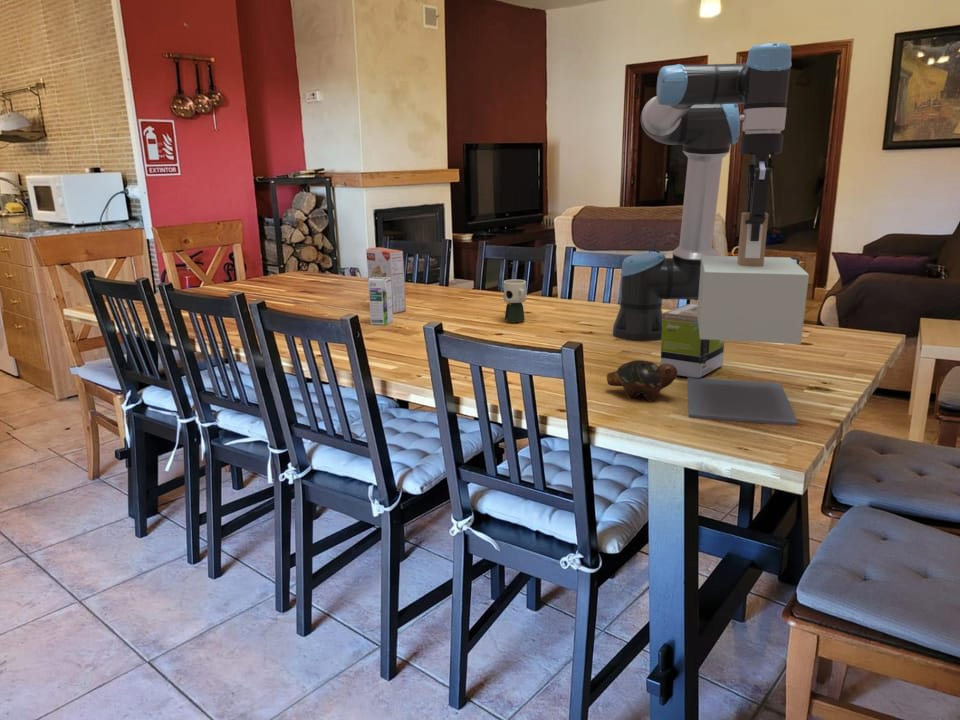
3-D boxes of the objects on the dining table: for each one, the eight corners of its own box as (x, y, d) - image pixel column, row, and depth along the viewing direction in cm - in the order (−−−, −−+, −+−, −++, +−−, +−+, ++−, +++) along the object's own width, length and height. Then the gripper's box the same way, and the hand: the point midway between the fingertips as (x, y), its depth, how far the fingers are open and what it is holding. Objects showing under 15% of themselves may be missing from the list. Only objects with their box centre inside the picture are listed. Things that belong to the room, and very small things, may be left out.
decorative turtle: (675, 406, 145) (674, 369, 142) (602, 402, 150) (601, 367, 148) (680, 389, 153) (680, 355, 151) (611, 387, 159) (610, 353, 157)
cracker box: (368, 308, 244) (365, 248, 239) (383, 305, 248) (379, 246, 242) (392, 314, 234) (388, 251, 229) (406, 311, 238) (403, 250, 232)
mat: (687, 379, 162) (687, 377, 161) (780, 385, 156) (780, 383, 156) (688, 417, 139) (689, 414, 138) (797, 425, 133) (798, 422, 133)
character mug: (496, 319, 224) (496, 279, 220) (516, 317, 227) (516, 277, 223) (513, 326, 215) (513, 284, 211) (533, 324, 218) (533, 282, 214)
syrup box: (370, 324, 220) (367, 279, 216) (377, 320, 226) (374, 276, 222) (387, 325, 219) (384, 279, 215) (393, 321, 224) (391, 276, 220)
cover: (697, 314, 156) (704, 208, 150) (783, 317, 151) (795, 209, 145) (699, 339, 135) (708, 217, 128) (800, 344, 130) (815, 218, 124)
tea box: (684, 360, 177) (688, 302, 173) (723, 366, 171) (728, 306, 167) (658, 372, 166) (661, 310, 162) (699, 379, 159) (704, 315, 156)
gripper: (737, 134, 142) (728, 250, 148) (745, 131, 125) (734, 261, 132) (777, 133, 140) (766, 250, 146) (790, 130, 123) (776, 262, 130)
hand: (750, 255), depth 139 cm, fingers closed on cover, 4 cm apart
